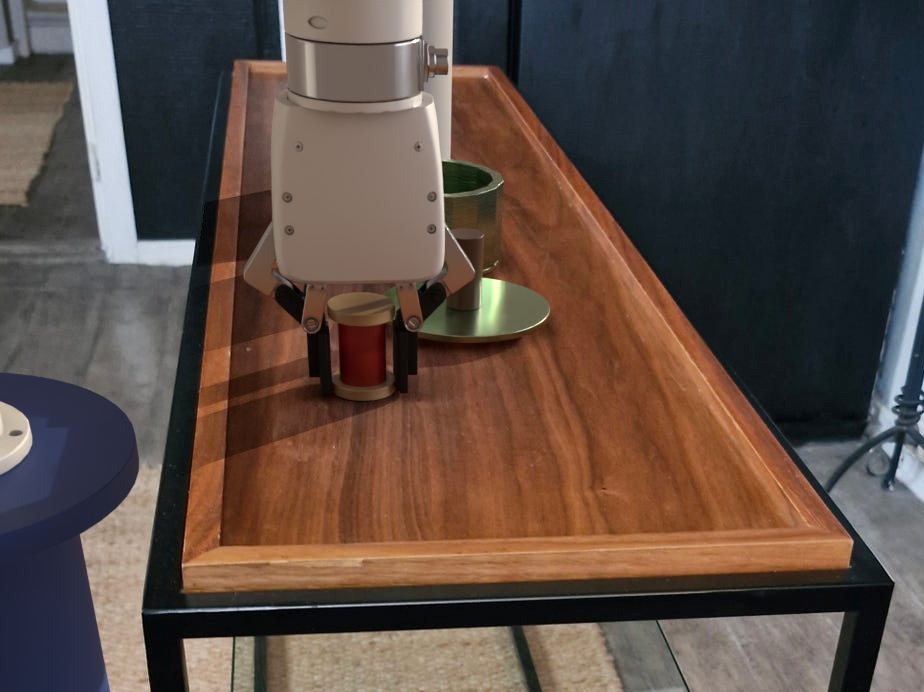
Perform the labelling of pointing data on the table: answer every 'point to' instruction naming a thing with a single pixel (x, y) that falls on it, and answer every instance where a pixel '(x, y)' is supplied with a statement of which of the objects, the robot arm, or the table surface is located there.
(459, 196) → the sewing tin
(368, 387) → the spool
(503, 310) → the lid
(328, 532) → the table surface
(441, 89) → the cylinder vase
